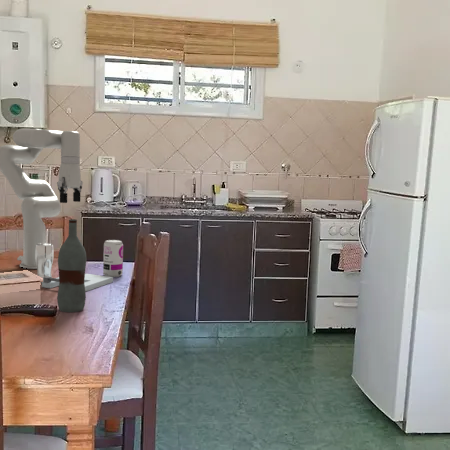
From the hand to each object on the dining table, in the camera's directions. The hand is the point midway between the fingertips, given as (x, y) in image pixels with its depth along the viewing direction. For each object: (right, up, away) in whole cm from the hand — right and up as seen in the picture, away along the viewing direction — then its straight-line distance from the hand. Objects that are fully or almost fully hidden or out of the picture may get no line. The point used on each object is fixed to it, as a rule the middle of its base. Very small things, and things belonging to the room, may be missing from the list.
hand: (70, 202), depth 233 cm
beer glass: (-8, -32, -9) cm, 34 cm away
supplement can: (+16, -32, +8) cm, 36 cm away
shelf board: (+7, -33, -12) cm, 36 cm away
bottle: (+14, -38, -47) cm, 62 cm away
